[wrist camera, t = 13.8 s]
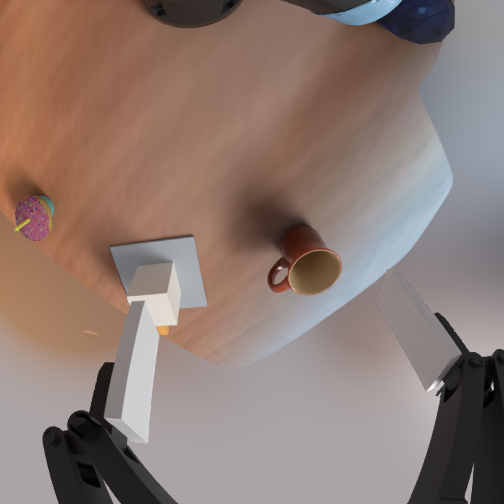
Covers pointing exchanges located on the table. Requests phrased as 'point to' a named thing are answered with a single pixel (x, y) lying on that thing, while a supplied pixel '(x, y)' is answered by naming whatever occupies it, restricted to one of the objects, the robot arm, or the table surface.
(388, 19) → the decorative orb
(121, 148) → the table surface
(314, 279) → the mug
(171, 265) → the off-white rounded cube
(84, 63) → the table surface
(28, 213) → the cupcake
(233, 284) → the table surface
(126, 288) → the post base
